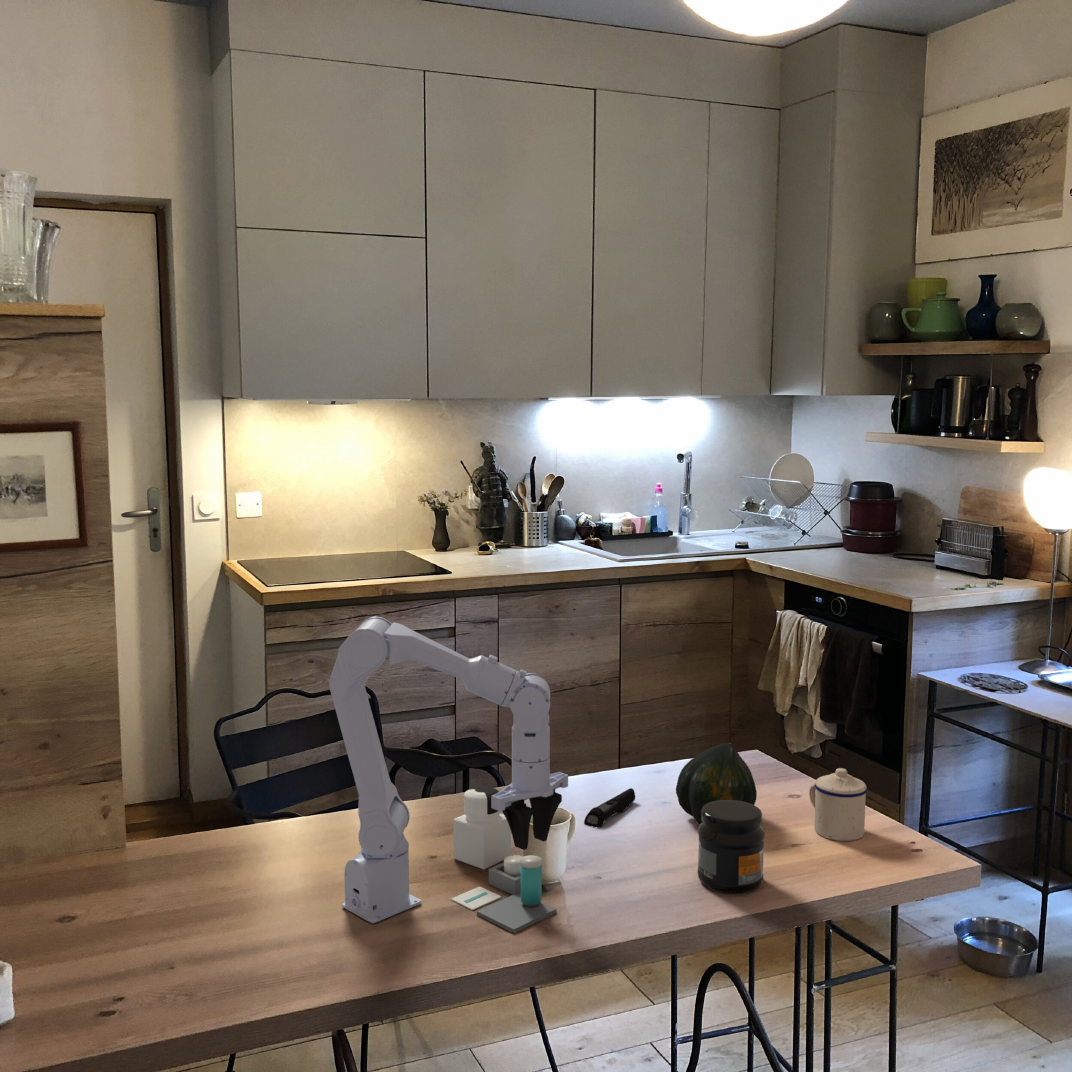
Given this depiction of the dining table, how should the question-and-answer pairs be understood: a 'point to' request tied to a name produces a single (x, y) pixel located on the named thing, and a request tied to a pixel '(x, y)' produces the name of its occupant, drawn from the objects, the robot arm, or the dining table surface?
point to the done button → (512, 865)
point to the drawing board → (515, 913)
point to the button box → (504, 880)
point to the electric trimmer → (609, 808)
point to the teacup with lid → (839, 806)
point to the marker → (531, 880)
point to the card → (475, 898)
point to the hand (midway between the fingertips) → (530, 843)
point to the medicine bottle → (481, 830)
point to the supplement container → (731, 846)
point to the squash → (714, 780)
